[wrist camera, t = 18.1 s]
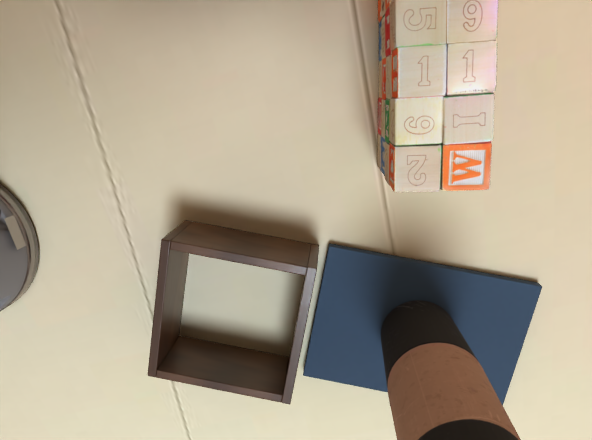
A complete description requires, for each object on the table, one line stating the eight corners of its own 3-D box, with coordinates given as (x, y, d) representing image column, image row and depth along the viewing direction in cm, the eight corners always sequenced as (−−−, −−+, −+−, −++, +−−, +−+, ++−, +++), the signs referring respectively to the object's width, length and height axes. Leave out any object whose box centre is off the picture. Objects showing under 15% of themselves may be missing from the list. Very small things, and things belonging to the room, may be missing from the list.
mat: (303, 370, 49) (303, 375, 48) (329, 243, 45) (329, 246, 44) (496, 408, 48) (499, 414, 47) (538, 282, 45) (542, 286, 44)
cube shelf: (170, 340, 49) (147, 376, 43) (184, 219, 46) (161, 239, 40) (295, 365, 49) (290, 404, 43) (319, 245, 45) (316, 268, 39)
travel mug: (464, 360, 46) (558, 550, 27) (386, 375, 47) (423, 567, 28) (450, 289, 44) (540, 436, 25) (369, 305, 45) (396, 459, 26)
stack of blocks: (376, -99, 38) (395, -188, 26) (456, -105, 37) (513, -200, 25) (377, 167, 43) (393, 194, 31) (447, 165, 43) (491, 191, 31)
